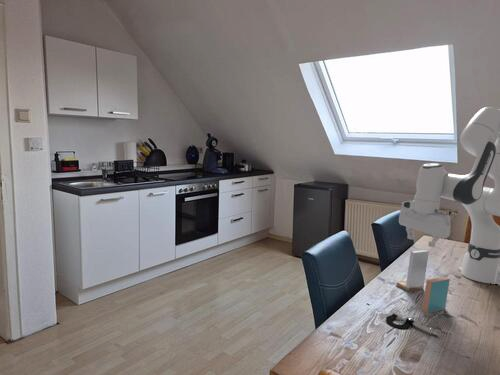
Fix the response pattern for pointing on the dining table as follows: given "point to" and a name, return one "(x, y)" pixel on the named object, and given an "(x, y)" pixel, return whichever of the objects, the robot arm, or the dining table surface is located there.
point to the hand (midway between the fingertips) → (420, 242)
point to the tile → (435, 294)
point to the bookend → (415, 271)
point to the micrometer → (409, 323)
